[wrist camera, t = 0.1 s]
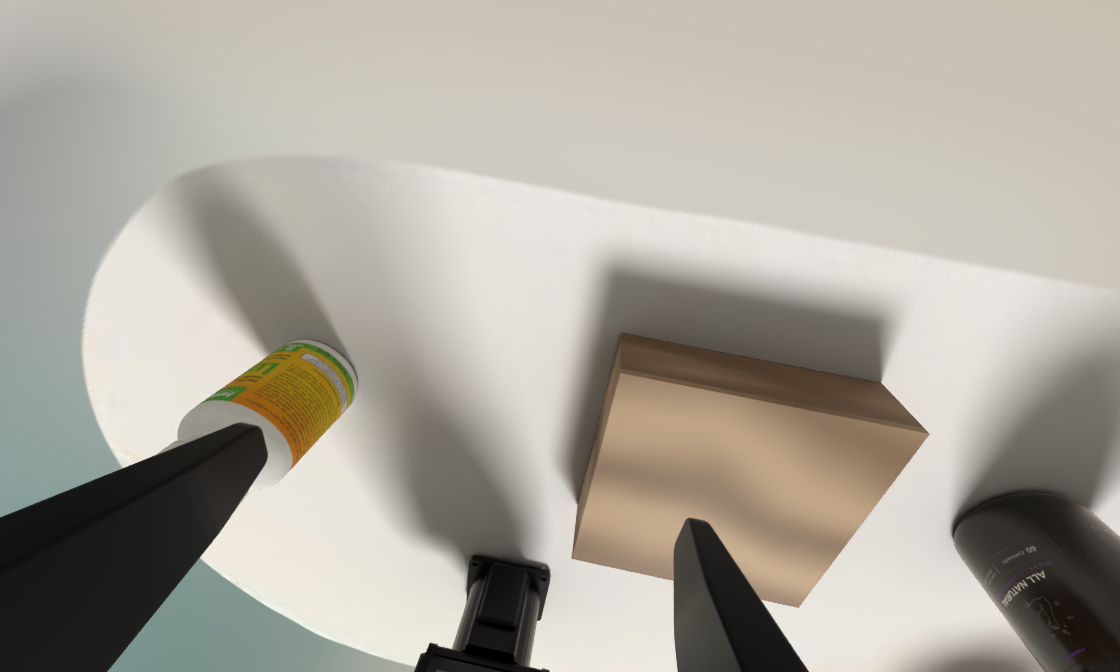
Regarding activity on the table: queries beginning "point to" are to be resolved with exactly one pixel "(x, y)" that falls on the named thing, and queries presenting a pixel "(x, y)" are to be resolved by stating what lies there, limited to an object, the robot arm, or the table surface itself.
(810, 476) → the block
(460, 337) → the table surface
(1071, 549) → the supplement bottle
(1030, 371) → the table surface
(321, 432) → the supplement bottle
